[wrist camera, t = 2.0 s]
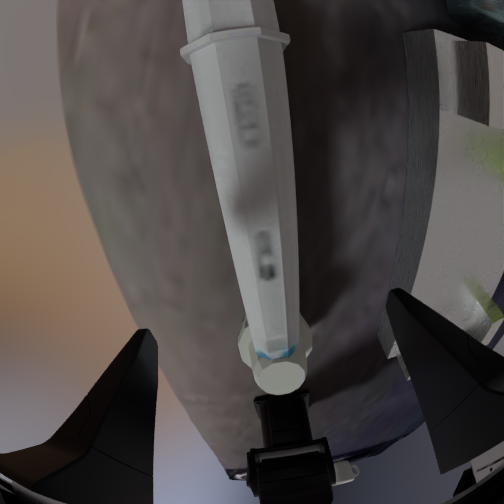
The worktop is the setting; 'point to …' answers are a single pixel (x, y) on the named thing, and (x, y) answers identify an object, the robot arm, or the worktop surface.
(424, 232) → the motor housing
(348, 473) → the cup
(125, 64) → the worktop surface
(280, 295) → the electric toothbrush handle
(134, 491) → the robot arm
